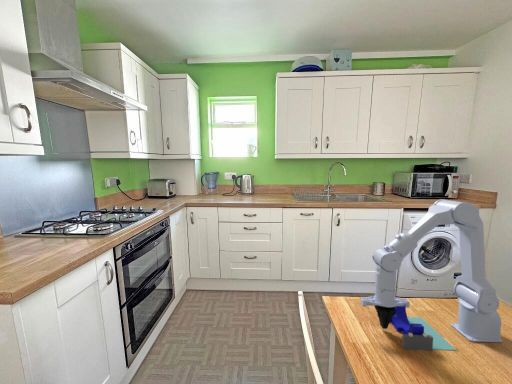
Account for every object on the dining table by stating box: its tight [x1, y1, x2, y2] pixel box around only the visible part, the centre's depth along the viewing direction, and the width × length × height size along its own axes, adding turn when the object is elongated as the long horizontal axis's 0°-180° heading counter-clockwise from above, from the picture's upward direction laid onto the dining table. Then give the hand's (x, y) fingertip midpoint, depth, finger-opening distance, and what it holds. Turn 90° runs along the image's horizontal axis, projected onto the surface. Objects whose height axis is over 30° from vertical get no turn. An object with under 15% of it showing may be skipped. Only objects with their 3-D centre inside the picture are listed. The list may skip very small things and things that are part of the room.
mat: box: [407, 316, 457, 351], centre depth 73 cm, size 8×15×1 cm, turn 177°
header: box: [376, 314, 434, 352], centre depth 73 cm, size 8×16×5 cm, turn 177°
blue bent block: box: [390, 306, 424, 335], centre depth 73 cm, size 12×4×6 cm, turn 172°
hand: (383, 326), depth 74 cm, fingers closed
